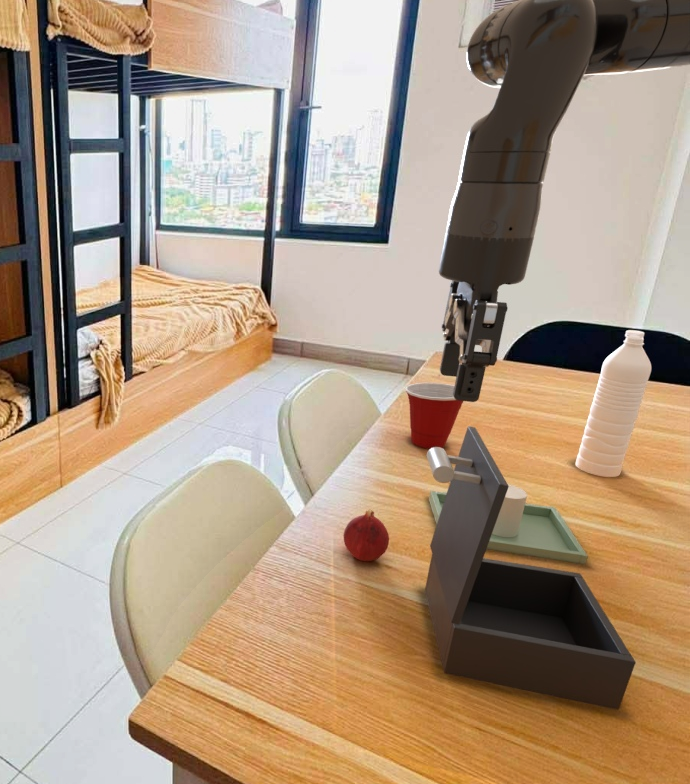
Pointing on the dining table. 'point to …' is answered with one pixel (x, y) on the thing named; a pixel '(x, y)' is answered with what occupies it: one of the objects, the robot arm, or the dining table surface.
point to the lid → (464, 517)
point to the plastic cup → (431, 413)
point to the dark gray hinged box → (532, 634)
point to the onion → (366, 537)
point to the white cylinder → (510, 512)
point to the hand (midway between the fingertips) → (457, 386)
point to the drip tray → (532, 534)
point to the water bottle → (615, 408)
